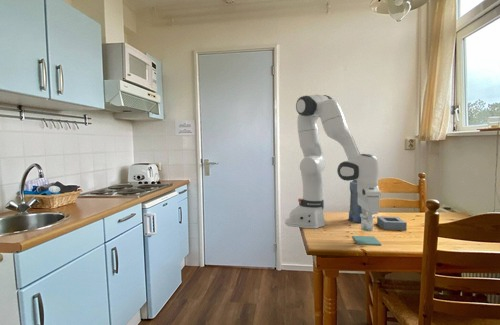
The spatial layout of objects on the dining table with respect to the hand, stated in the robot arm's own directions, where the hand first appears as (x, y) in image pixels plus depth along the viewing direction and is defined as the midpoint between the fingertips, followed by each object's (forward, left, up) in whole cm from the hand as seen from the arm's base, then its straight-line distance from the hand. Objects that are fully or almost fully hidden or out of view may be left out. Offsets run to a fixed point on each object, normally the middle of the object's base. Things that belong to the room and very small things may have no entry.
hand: (366, 218), depth 125 cm
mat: (0, 0, -11) cm, 11 cm away
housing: (+20, +24, -11) cm, 33 cm away
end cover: (0, 0, -5) cm, 5 cm away
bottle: (+5, +34, -11) cm, 36 cm away
